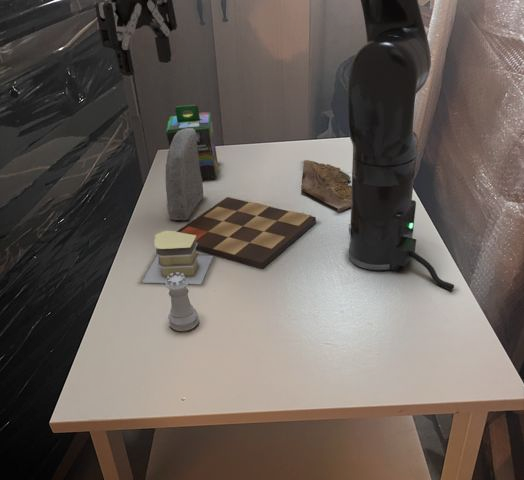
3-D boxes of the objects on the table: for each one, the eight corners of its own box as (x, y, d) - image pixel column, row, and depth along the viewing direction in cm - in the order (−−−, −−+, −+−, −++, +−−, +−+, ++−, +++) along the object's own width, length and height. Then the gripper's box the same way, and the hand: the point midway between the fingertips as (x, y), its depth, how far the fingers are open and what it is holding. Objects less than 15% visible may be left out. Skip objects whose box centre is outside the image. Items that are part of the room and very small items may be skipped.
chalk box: (217, 163, 133) (209, 95, 124) (216, 180, 126) (208, 109, 116) (177, 166, 133) (166, 98, 124) (174, 183, 126) (162, 112, 117)
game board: (315, 222, 108) (315, 216, 107) (262, 269, 97) (262, 262, 96) (227, 202, 117) (227, 196, 116) (169, 242, 106) (168, 236, 105)
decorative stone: (192, 222, 111) (180, 144, 102) (163, 221, 112) (148, 144, 103) (208, 197, 119) (198, 123, 110) (180, 197, 120) (168, 122, 111)
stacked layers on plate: (213, 256, 101) (209, 227, 97) (201, 284, 94) (196, 254, 91) (157, 254, 102) (152, 226, 99) (141, 282, 96) (134, 253, 92)
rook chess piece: (176, 313, 88) (167, 267, 83) (204, 316, 87) (196, 270, 82) (164, 330, 85) (154, 284, 80) (192, 334, 84) (184, 287, 79)
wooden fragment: (369, 208, 110) (369, 202, 110) (312, 215, 110) (312, 210, 109) (335, 158, 130) (335, 153, 130) (287, 164, 130) (286, 160, 129)
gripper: (105, -45, 80) (131, 82, 90) (176, -58, 88) (193, 59, 98) (70, -44, 83) (99, 77, 94) (141, -57, 92) (160, 56, 102)
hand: (147, 68), depth 96 cm, fingers open, 8 cm apart
